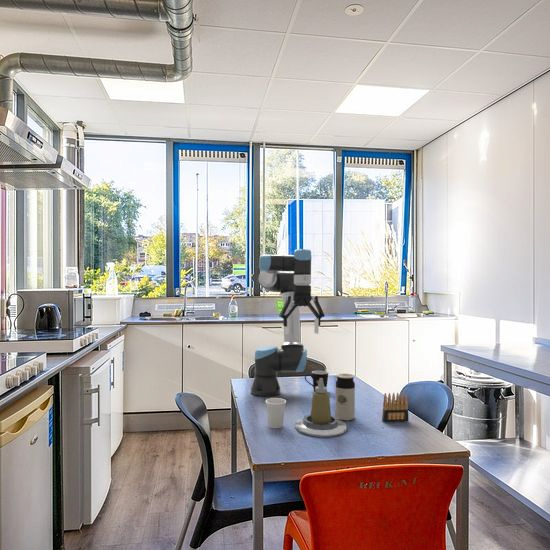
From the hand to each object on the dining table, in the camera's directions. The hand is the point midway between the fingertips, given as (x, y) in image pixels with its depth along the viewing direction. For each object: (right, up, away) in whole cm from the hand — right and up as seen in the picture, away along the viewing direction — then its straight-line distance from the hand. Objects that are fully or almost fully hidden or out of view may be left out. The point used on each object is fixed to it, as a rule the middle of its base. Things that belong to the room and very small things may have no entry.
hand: (301, 333), depth 190 cm
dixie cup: (-11, -35, -16) cm, 40 cm away
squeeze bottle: (+6, -33, -18) cm, 38 cm away
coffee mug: (+11, -35, +39) cm, 53 cm away
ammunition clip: (+38, -35, -9) cm, 53 cm away
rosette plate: (+6, -35, -18) cm, 40 cm away
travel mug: (+18, -35, -5) cm, 40 cm away
